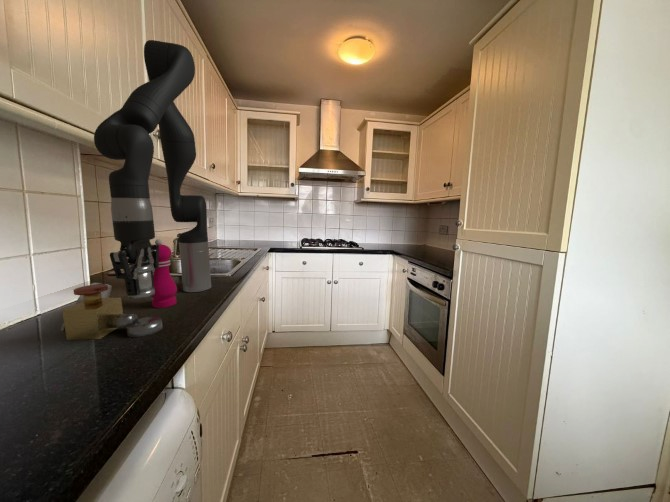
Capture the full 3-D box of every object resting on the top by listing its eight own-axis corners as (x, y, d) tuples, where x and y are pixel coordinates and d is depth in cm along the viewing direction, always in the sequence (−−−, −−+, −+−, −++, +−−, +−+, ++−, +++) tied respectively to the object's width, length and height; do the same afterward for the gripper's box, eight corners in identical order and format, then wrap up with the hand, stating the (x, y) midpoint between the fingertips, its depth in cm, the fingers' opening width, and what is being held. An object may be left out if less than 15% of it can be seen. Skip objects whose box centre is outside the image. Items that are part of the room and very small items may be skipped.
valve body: (95, 324, 69) (89, 283, 67) (169, 322, 70) (165, 282, 69) (66, 339, 61) (59, 293, 60) (150, 337, 62) (145, 292, 61)
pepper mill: (173, 298, 89) (167, 237, 85) (182, 304, 84) (176, 239, 81) (147, 304, 83) (140, 239, 80) (155, 310, 79) (147, 241, 75)
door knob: (159, 291, 67) (156, 263, 66) (146, 298, 62) (143, 268, 61) (137, 291, 67) (134, 263, 66) (122, 298, 62) (118, 268, 61)
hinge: (85, 308, 80) (95, 276, 80) (105, 311, 82) (115, 279, 82) (59, 331, 65) (72, 291, 65) (84, 334, 68) (97, 295, 68)
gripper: (129, 220, 55) (138, 301, 58) (167, 217, 69) (173, 282, 72) (90, 220, 55) (101, 302, 57) (136, 217, 69) (143, 283, 71)
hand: (141, 291), depth 65 cm, fingers closed on door knob, 5 cm apart
